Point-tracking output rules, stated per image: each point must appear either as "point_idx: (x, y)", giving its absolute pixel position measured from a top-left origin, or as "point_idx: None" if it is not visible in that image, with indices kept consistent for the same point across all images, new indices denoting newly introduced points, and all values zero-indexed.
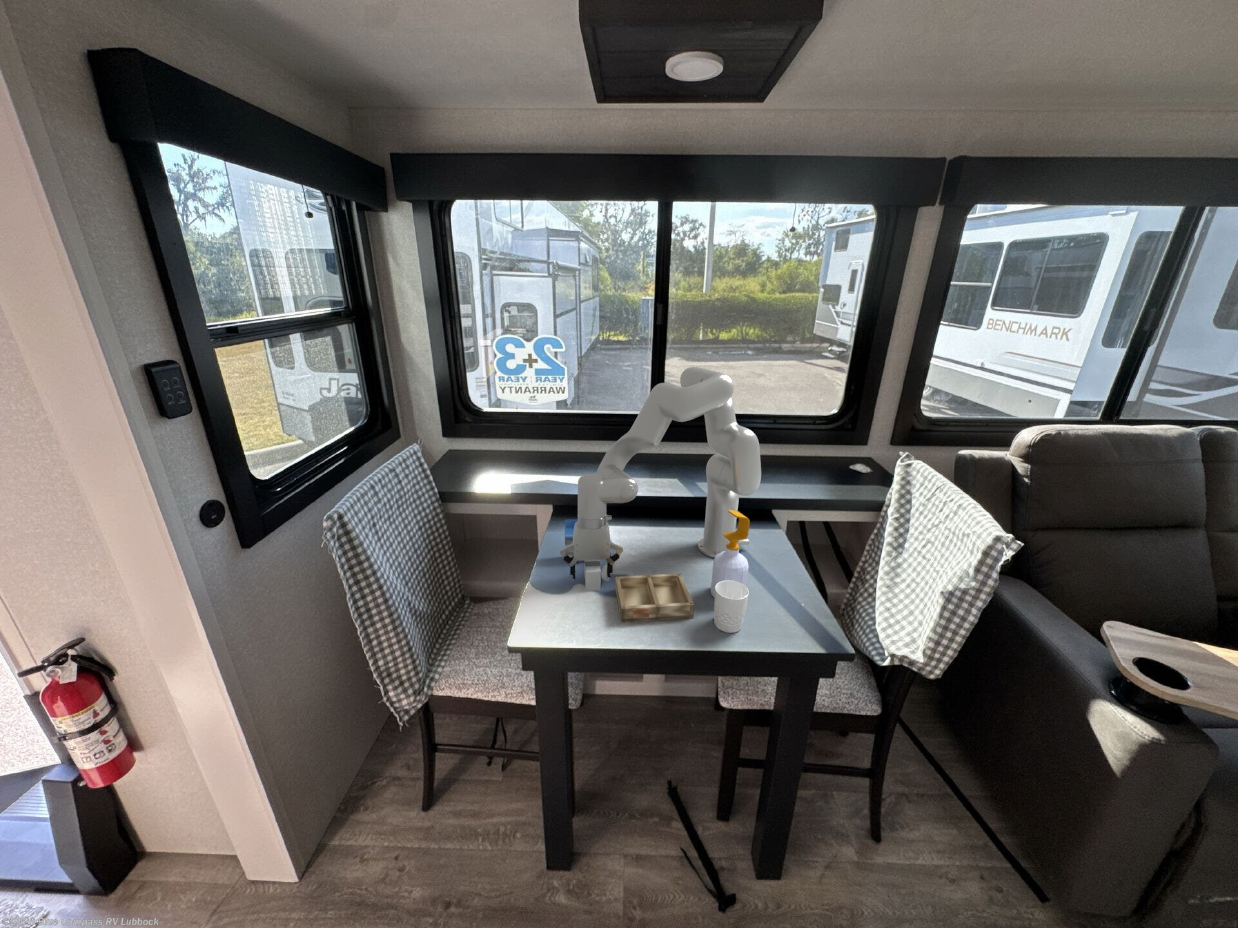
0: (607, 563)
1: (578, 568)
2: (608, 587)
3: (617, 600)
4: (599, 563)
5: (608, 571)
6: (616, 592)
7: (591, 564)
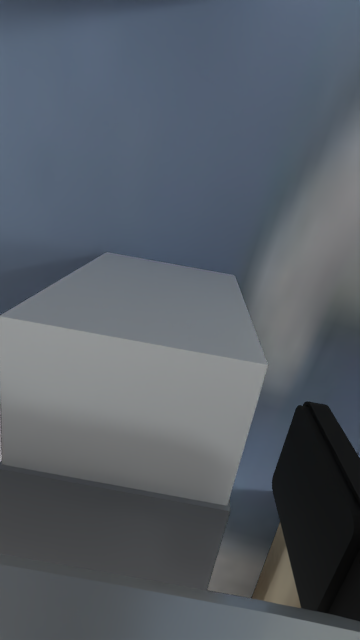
0: (328, 563)
1: (61, 115)
2: (253, 462)
3: (257, 589)
4: (210, 560)
5: (292, 546)
6: (275, 571)
7: (91, 552)
